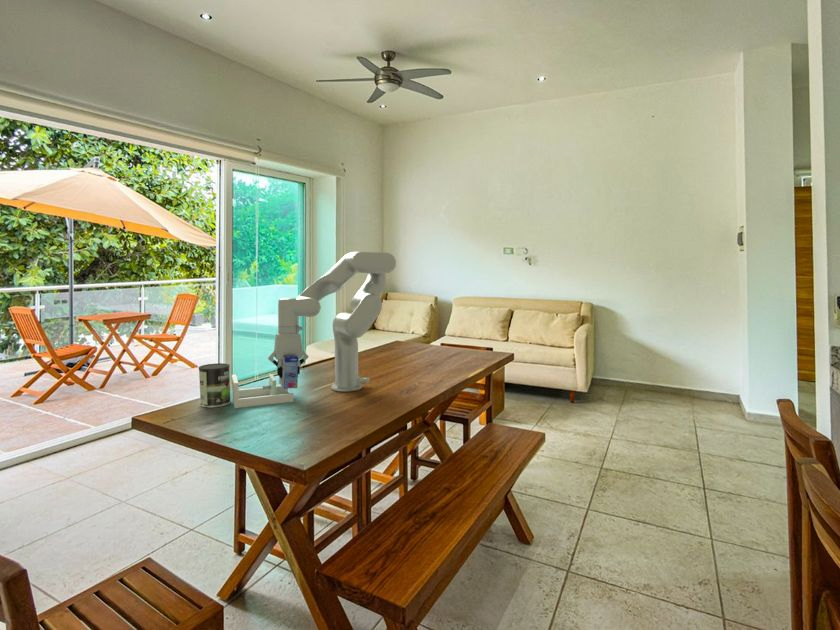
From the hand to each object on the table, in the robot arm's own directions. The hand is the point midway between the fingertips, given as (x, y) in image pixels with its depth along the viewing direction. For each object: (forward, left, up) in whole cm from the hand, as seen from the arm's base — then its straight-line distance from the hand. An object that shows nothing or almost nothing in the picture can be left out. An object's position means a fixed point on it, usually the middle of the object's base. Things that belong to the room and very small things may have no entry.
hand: (288, 376), depth 177 cm
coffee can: (+26, -2, -8) cm, 27 cm away
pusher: (+8, 0, -8) cm, 11 cm away
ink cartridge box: (0, 0, -4) cm, 4 cm away
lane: (+9, 0, -8) cm, 12 cm away
